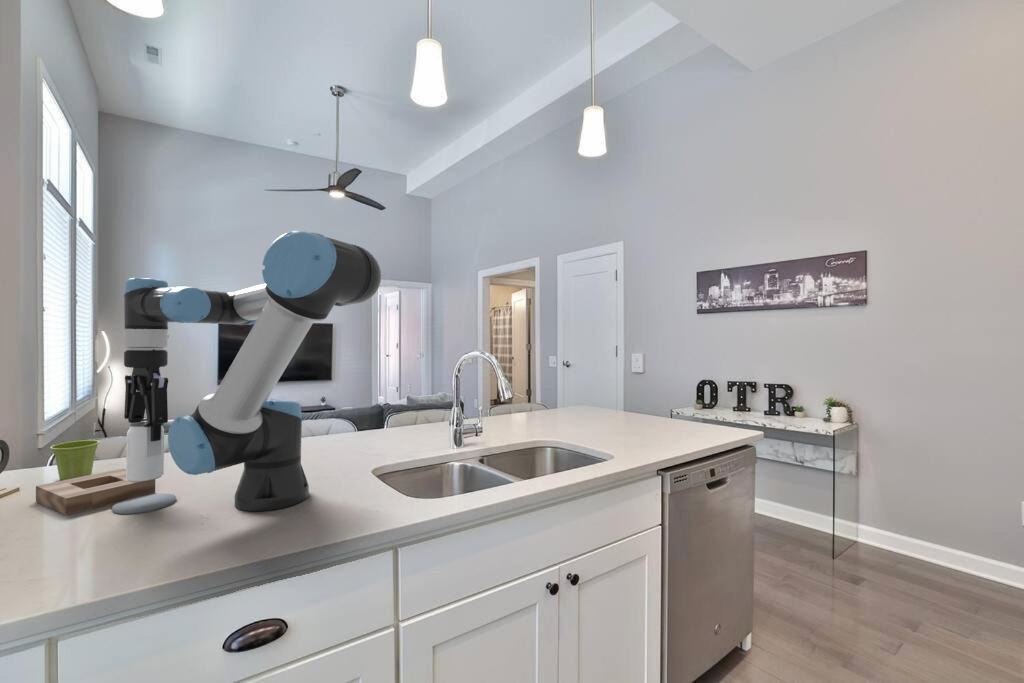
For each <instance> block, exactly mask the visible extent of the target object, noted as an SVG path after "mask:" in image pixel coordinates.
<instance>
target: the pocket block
mask: <svg viewBox="0 0 1024 683" xmlns="http://www.w3.org/2000/svg"><path fill="white" fill-rule="evenodd" d="M151 494H156V479H154V480H150V481H143V482H130V481H128V480H127V479H126V468H119V469H115V470H114V469H113V470H109V471H105V472H100V473H94V474H91V475H88V476H83V477H78V478H73V479H68V480H58V481H55V482H49V483H44V484H39V485H35V502H36V503H38V504H40V505H42V506H45V507H47V508H48V509H49V508H50V509H52V510H54V511H56V512H57V513H60V514H62V515H65V516H67V515H72V514H77V513H80V512H85V511H88V510H92V509H97V508H100V507H103V506H104V507H105V506H109V505H112V504H113V505H114V504H117V503H119V502H121V501H124V500H127V499H130V498H134V497H139V496H144V495H151Z"/></svg>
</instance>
